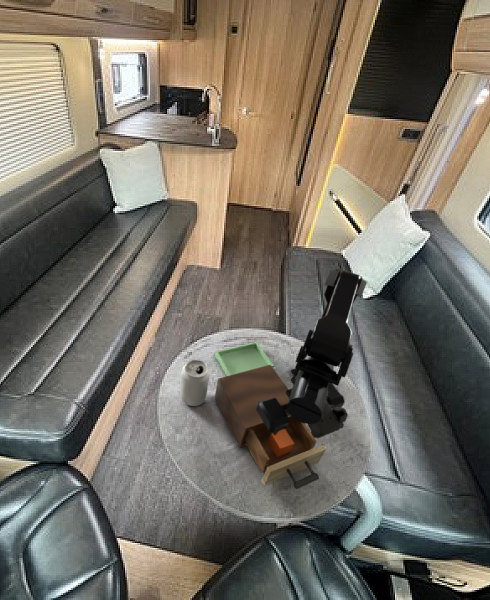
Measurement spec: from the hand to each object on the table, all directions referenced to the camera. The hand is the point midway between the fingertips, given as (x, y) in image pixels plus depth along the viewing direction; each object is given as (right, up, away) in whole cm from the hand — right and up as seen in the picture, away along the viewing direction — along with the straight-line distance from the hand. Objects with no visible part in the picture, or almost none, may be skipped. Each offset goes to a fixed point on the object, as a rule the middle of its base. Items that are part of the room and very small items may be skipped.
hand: (291, 426), depth 72 cm
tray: (-7, +8, +31) cm, 33 cm away
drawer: (-1, -9, +6) cm, 11 cm away
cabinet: (-6, -2, +16) cm, 18 cm away
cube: (-1, -7, +6) cm, 10 cm away
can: (-23, +1, +18) cm, 29 cm away
